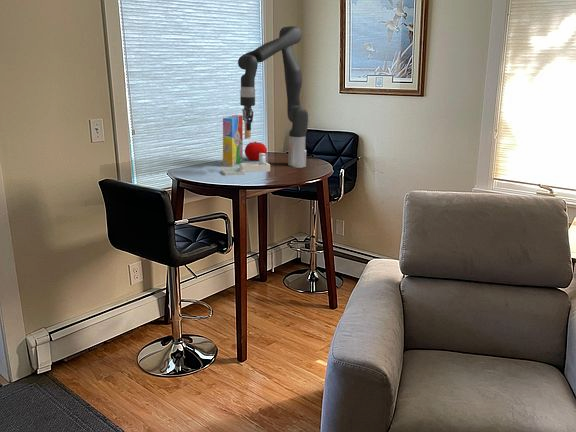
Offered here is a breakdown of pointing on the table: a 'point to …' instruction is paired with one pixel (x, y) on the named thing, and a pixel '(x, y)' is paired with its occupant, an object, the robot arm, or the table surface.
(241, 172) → the parts tray
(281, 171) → the table surface
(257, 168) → the fuse block
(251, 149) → the tomato
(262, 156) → the cylinder
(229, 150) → the game box
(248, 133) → the fuse
